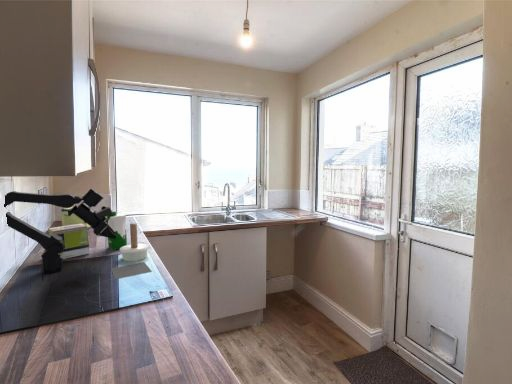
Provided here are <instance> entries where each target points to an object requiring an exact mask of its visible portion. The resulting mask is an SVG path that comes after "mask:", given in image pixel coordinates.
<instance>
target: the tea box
mask: <svg viewBox="0 0 512 384" xmlns="http://www.w3.org/2000/svg"><path fill="white" fill-rule="evenodd" d="M88 230H89V229H87V226H86V225H84V224H75V225H68V226H57V227H56V226H55V227H49V228H48V234H49V235H52V234H53V233H55V234H56V235H58V236H60V237H62V239H63V240H64V242H65V245H64V248H63V250H62V252H60V253H59V254H60V258H61V257H62V260H65V259H70V258H75V257H80V256H85V255H88V254H89V255H90V253H91V252H90V239H89V232H88Z"/></svg>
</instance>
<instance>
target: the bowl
mask: <svg viewBox="0 0 512 384" xmlns="http://www.w3.org/2000/svg"><path fill="white" fill-rule="evenodd" d="M147 256H148V249H147V250H145V251H142V252H137V253H122V252H121V259H122V260H123V261H125V262H135V261H136V262H137V261H141V260H144V259H146V258H147Z"/></svg>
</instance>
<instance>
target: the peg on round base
mask: <svg viewBox="0 0 512 384" xmlns="http://www.w3.org/2000/svg"><path fill="white" fill-rule="evenodd" d="M137 225H138V223H136V222H133V223H130V224H129V230H130V231H129V232H130V244H127V245H126V246H123V247H121V248H120V249H119V252H120V253H121V254H122V253H137V252H142V251H145V250H147V251H148V250H149V249H150V246H149V244H147V243H139V242H138V226H137Z"/></svg>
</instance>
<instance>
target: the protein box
mask: <svg viewBox="0 0 512 384" xmlns="http://www.w3.org/2000/svg"><path fill="white" fill-rule="evenodd" d="M86 206H87V207H88V208H90V209H91V210H92V207H89V206H88V205H86ZM73 207H74V206H72V207H70V208H61V210H60V211H61V212H60V213H61V225H62V226H68V225H75V224H84V225H86V226H87V229H88V230H90V229H92V227H91V226H90V225H88V224H87V223H84V221H83V220H81V219H80V218H79V217H77V216H76V215H75V214H72V215H71V216H68V211H67V210H71V209H72V208H73ZM89 228H90V229H89Z"/></svg>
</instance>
